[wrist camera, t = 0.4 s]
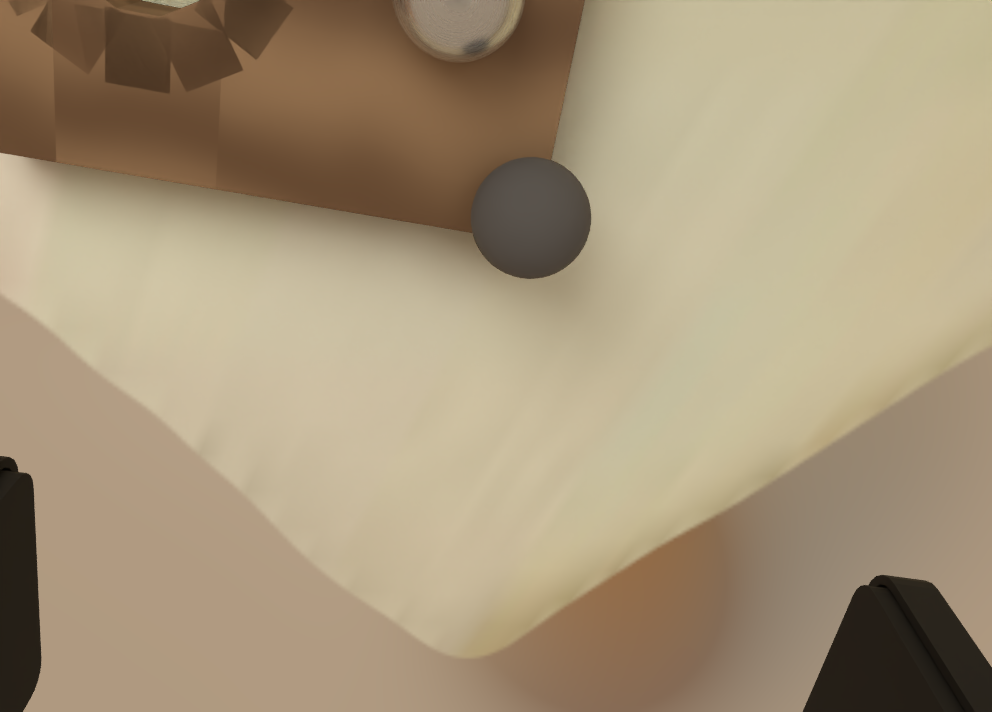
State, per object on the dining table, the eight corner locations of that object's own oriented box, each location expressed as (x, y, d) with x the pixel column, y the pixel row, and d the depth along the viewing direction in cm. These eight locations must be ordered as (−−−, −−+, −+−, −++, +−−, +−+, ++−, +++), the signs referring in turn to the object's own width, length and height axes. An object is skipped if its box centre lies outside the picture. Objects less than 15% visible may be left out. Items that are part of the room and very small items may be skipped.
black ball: (481, 134, 31) (482, 164, 28) (595, 155, 32) (611, 187, 28) (462, 244, 33) (460, 286, 29) (570, 262, 33) (582, 306, 30)
